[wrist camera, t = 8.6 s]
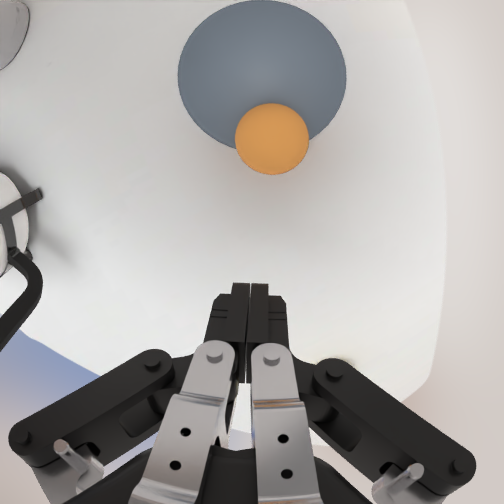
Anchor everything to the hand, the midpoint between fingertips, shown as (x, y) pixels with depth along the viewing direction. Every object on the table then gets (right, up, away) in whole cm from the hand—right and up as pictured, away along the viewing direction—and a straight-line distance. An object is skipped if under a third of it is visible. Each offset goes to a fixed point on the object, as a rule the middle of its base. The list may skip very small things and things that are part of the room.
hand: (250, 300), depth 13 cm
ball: (+2, +11, +8) cm, 13 cm away
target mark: (+1, +17, +8) cm, 19 cm away
